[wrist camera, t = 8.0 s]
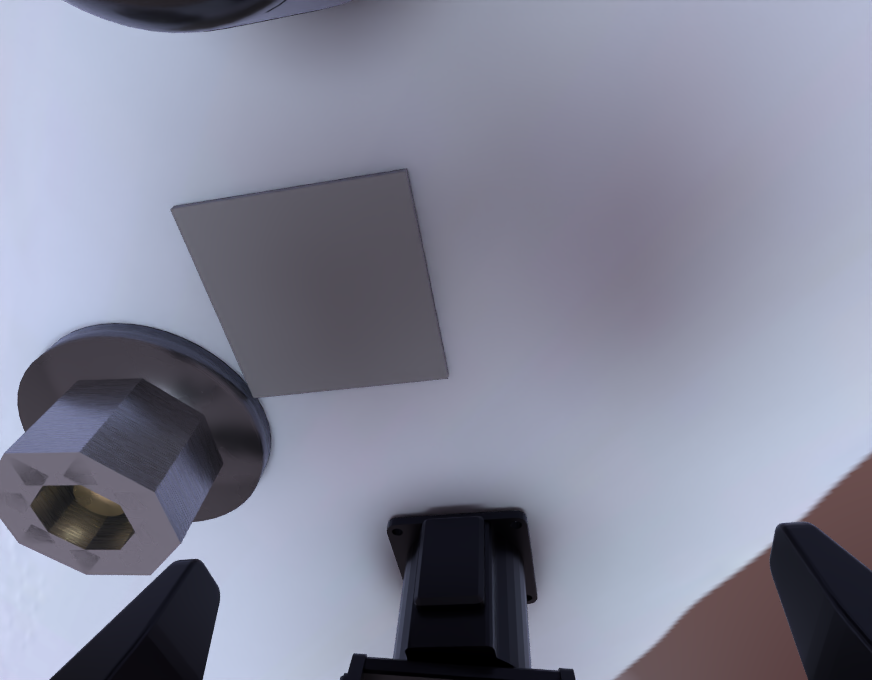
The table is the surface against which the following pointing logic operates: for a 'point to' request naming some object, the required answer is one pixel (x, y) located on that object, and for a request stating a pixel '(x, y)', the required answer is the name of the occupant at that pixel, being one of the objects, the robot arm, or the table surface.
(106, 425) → the ring
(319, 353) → the stand pad
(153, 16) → the supplement bottle
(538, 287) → the table surface
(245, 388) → the hub
